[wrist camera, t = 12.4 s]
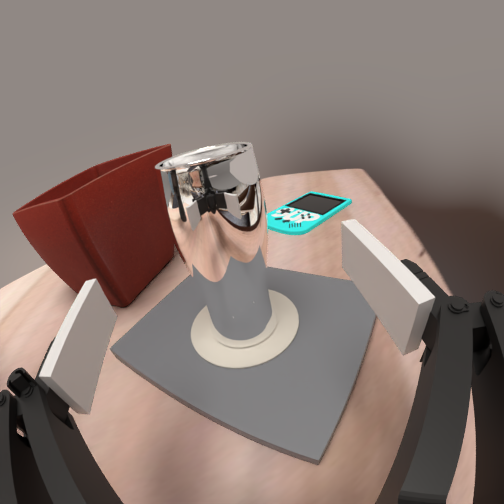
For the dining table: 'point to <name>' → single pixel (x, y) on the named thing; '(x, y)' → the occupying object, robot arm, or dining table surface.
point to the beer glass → (222, 236)
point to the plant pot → (104, 226)
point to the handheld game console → (305, 213)
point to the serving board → (260, 361)
